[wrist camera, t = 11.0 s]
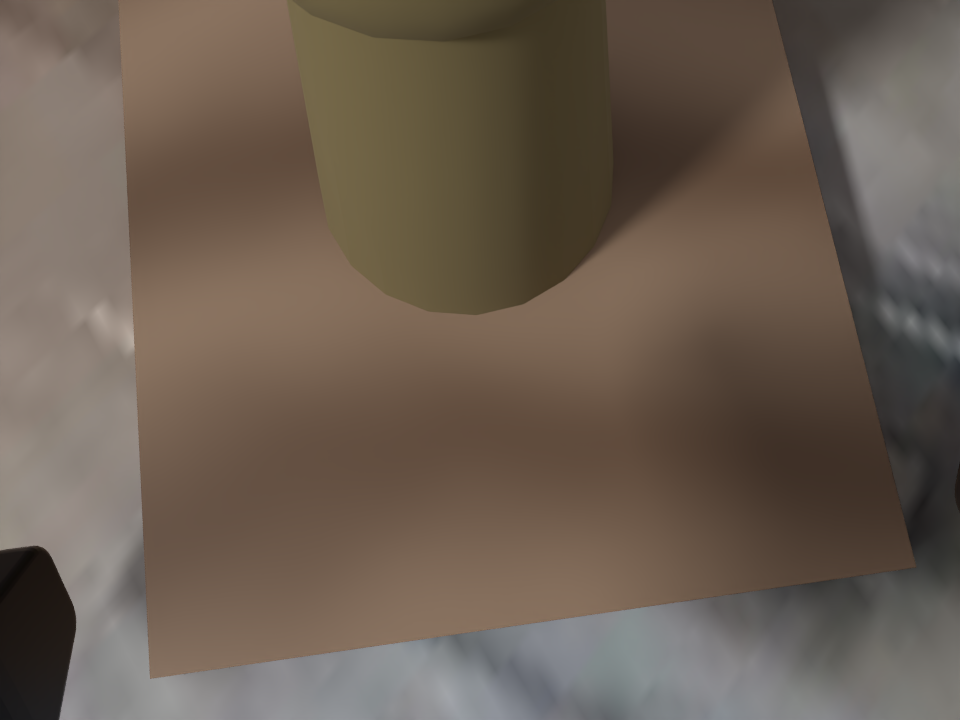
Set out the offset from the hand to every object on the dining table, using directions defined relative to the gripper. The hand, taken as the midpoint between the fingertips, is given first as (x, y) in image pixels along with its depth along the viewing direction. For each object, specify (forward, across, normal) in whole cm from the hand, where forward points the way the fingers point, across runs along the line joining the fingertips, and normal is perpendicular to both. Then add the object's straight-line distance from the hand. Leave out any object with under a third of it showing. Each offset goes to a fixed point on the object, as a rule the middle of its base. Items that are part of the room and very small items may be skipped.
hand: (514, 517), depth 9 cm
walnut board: (+12, 0, +1) cm, 12 cm away
